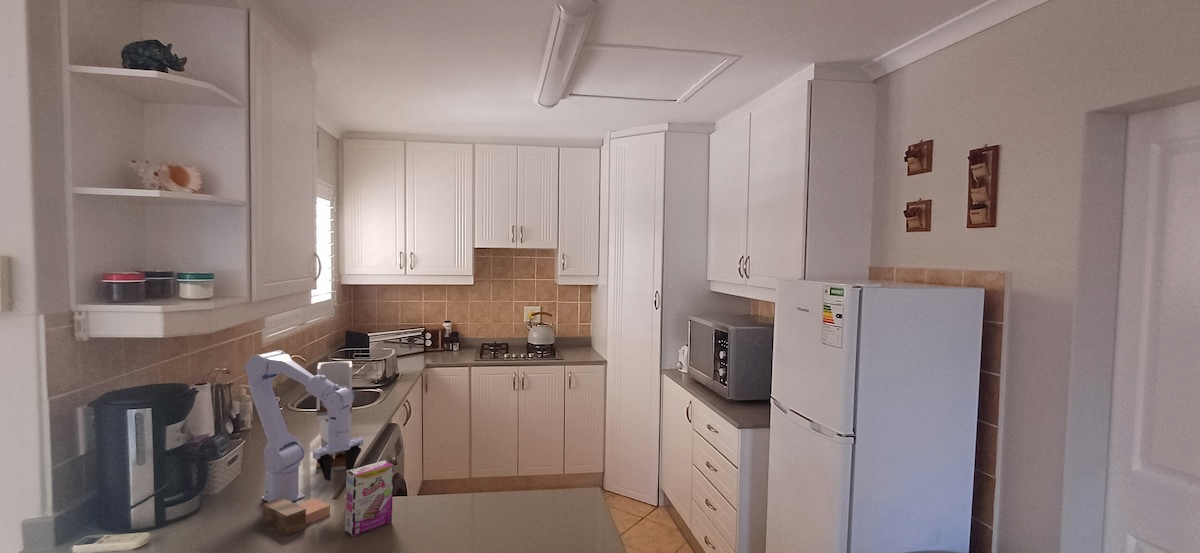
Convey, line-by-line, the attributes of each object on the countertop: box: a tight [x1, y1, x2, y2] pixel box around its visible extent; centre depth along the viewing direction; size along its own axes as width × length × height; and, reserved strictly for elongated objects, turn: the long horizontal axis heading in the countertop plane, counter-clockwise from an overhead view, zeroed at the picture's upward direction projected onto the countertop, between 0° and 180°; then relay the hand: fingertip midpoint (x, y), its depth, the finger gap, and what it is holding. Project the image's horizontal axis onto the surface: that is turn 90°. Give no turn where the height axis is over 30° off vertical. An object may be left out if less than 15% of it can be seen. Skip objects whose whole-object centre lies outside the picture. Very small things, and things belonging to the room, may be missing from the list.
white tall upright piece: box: [315, 360, 353, 474], centre depth 188 cm, size 11×11×35 cm
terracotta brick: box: [296, 498, 331, 525], centre depth 152 cm, size 8×7×3 cm
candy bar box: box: [344, 460, 394, 537], centre depth 147 cm, size 11×5×16 cm, turn 141°
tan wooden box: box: [262, 498, 307, 537], centre depth 146 cm, size 12×5×5 cm, turn 58°
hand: (338, 476), depth 159 cm, fingers open, 6 cm apart
